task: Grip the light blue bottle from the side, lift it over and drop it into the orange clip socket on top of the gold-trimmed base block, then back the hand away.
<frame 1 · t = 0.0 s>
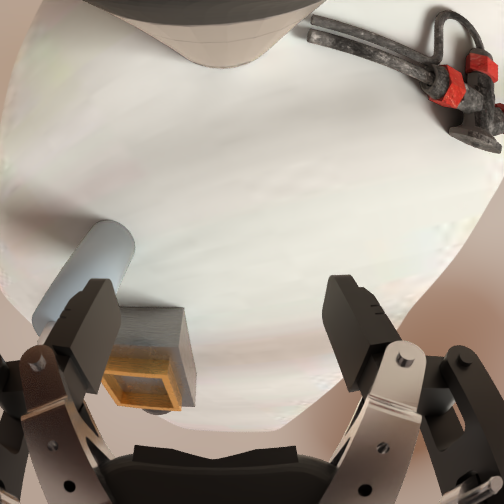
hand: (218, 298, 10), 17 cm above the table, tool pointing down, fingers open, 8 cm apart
gold-trimmed base block: (148, 344, 37), on the table
light blue bottle: (111, 243, 28), on the table
valve: (427, 57, 20), on the table
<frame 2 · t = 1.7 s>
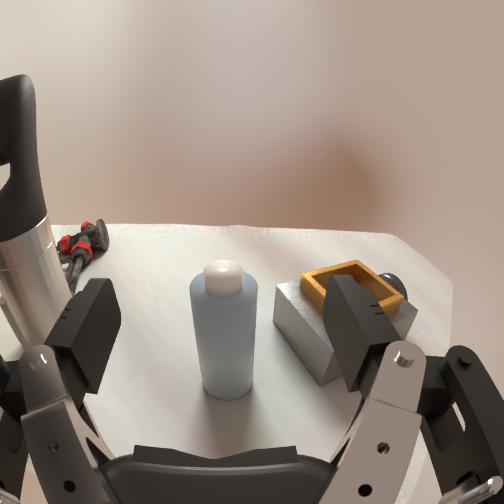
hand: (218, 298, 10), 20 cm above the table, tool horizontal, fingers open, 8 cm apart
gold-trimmed base block: (339, 333, 36), on the table
light blue bottle: (227, 379, 30), on the table
valve: (71, 268, 48), on the table
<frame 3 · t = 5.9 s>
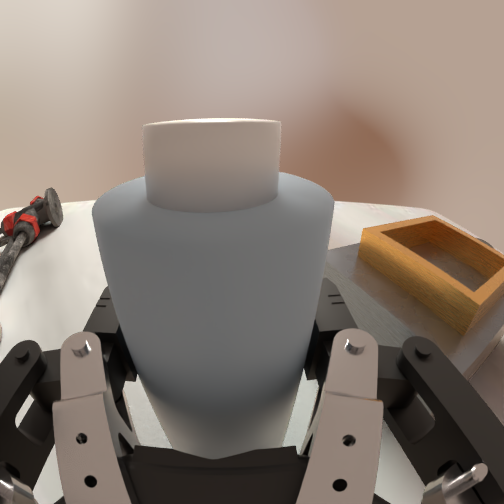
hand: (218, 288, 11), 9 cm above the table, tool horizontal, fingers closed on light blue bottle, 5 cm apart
gold-trimmed base block: (415, 337, 19), on the table
light blue bottle: (227, 443, 13), on the table, touching gripper
valve: (14, 251, 31), on the table
when the fingers open (15 cm above the table, at t = 10.9 s): light blue bottle stays where it is, resting on gold-trimmed base block.
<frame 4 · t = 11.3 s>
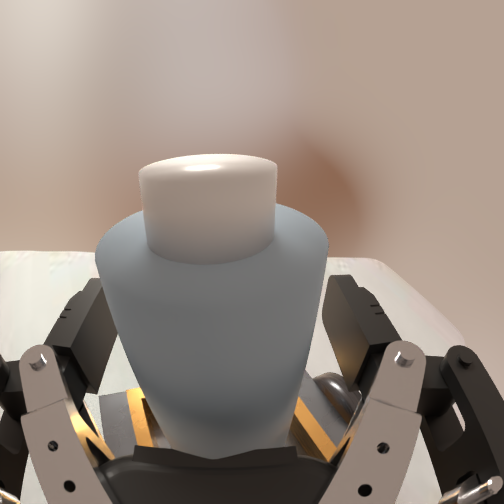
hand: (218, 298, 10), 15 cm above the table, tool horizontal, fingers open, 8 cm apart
gold-trimmed base block: (232, 476, 16), on the table
light blue bottle: (230, 452, 13), point 6 cm above the table, touching gold-trimmed base block
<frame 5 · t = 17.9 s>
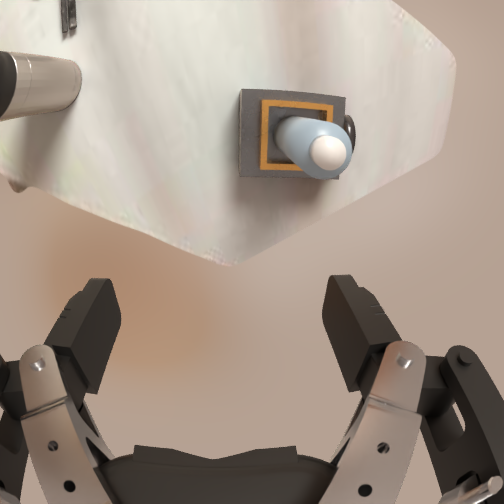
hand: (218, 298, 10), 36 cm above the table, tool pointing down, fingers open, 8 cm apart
gold-trimmed base block: (285, 130, 41), on the table
light blue bottle: (293, 135, 36), point 6 cm above the table, touching gold-trimmed base block
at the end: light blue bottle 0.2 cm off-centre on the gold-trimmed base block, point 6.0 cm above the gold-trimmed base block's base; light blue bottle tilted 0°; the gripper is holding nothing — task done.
